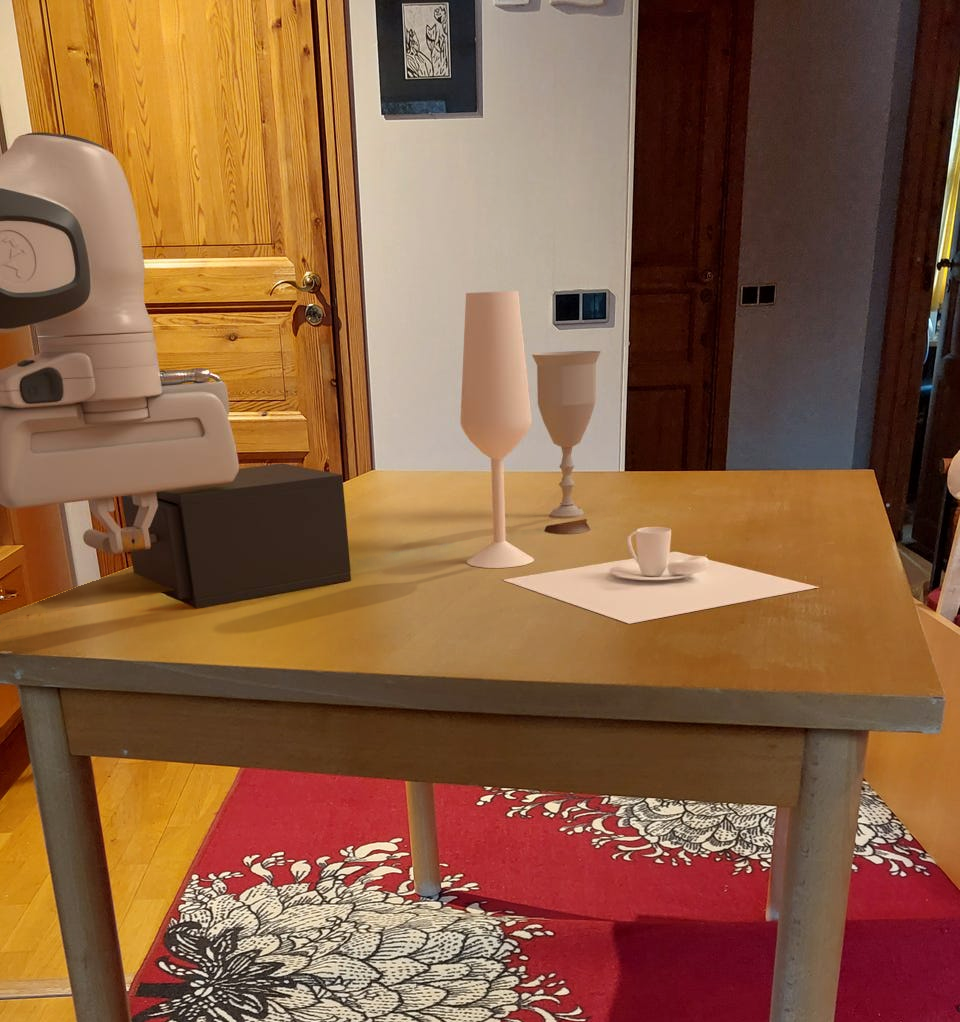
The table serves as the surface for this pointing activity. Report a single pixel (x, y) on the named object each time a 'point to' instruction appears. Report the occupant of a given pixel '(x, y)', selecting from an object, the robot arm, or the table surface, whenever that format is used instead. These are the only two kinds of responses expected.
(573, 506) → the chalice
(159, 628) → the table surface
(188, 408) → the robot arm
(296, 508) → the drawer cabinet
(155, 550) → the dark grey drawer
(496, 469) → the champagne flute
